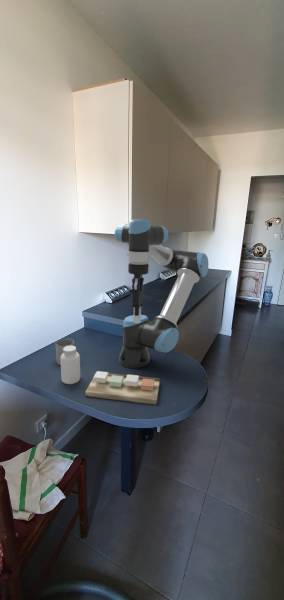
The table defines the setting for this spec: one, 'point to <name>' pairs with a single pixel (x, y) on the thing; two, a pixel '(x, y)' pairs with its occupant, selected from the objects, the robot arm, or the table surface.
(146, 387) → the key terracotta
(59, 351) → the cup
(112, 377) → the key sage
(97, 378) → the white key
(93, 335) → the table surface
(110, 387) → the keypad board
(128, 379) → the white key
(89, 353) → the table surface
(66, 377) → the pill bottle
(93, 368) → the table surface
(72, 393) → the table surface
